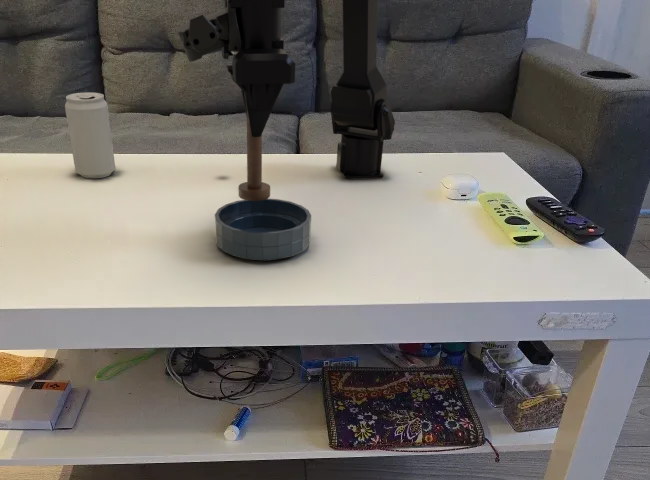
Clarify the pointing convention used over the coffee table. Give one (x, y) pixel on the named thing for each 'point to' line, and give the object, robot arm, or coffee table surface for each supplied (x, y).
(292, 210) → the bowl
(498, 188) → the coffee table surface
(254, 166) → the rod
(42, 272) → the coffee table surface
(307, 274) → the coffee table surface
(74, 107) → the beverage can
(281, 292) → the coffee table surface
